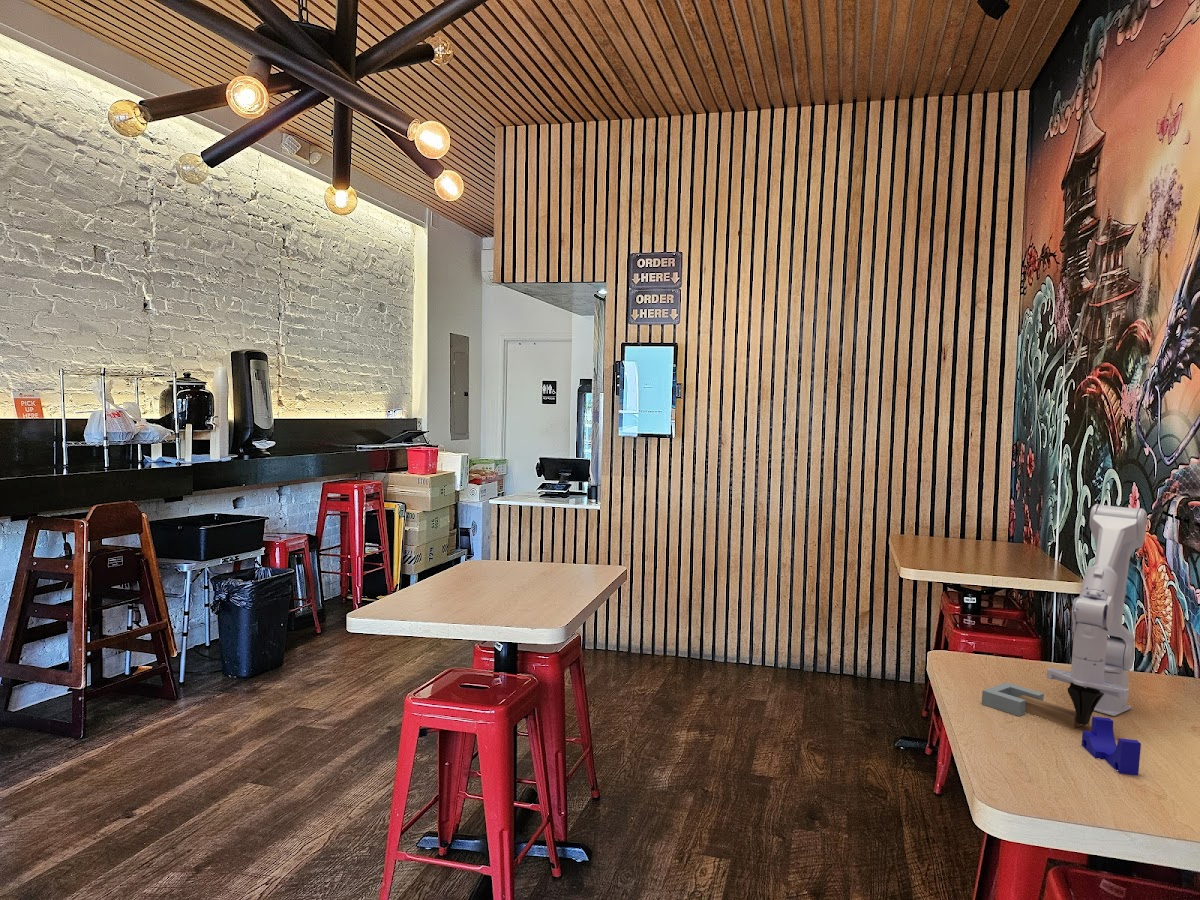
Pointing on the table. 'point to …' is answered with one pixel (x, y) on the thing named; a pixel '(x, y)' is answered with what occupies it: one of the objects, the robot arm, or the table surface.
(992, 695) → the end cap
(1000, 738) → the table surface
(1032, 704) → the slat
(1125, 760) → the cable clip
